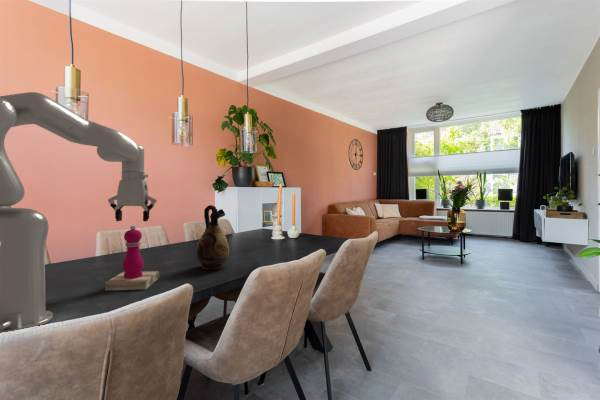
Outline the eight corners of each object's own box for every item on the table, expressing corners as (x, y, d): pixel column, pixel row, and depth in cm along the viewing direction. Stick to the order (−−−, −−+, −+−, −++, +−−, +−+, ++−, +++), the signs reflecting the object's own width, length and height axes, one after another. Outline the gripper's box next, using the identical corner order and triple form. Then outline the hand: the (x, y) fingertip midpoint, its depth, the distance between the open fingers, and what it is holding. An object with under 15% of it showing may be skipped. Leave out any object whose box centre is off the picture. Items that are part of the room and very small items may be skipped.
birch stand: (145, 289, 108) (145, 281, 107) (105, 290, 106) (105, 282, 106) (158, 278, 121) (158, 271, 121) (123, 279, 120) (123, 271, 119)
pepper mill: (148, 274, 116) (147, 224, 116) (134, 279, 109) (133, 227, 108) (132, 273, 118) (132, 224, 117) (117, 278, 110) (117, 226, 110)
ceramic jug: (236, 266, 142) (236, 205, 141) (211, 273, 129) (211, 206, 128) (212, 261, 151) (212, 204, 150) (186, 268, 138) (186, 205, 137)
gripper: (159, 178, 117) (159, 220, 117) (113, 177, 115) (113, 220, 115) (152, 176, 110) (152, 221, 110) (103, 175, 107) (103, 221, 107)
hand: (132, 221), depth 112 cm, fingers open, 9 cm apart
